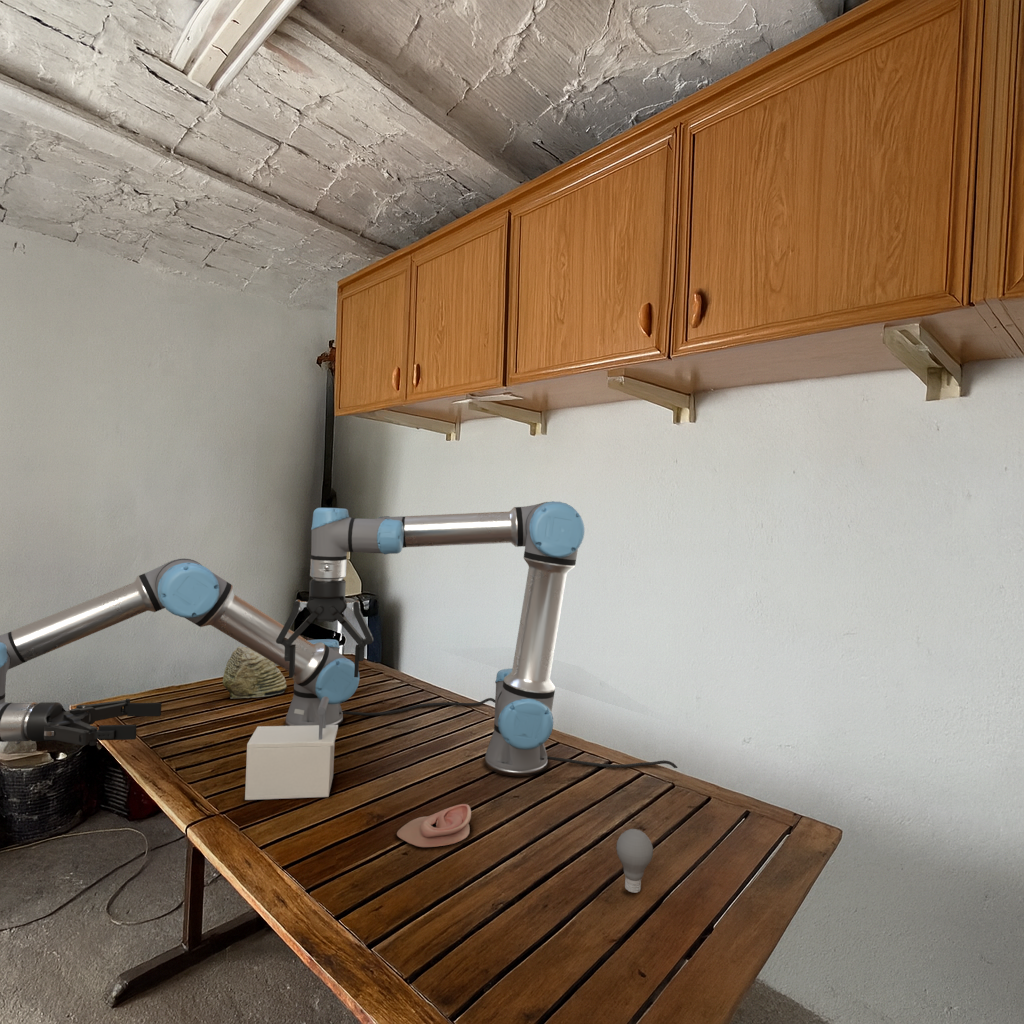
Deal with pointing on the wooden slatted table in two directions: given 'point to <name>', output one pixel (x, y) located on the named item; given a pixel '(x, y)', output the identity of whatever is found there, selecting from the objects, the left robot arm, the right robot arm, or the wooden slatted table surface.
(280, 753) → the chest
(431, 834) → the anatomical model
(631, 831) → the light bulb
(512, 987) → the wooden slatted table surface
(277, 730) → the lid
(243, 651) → the fossil
